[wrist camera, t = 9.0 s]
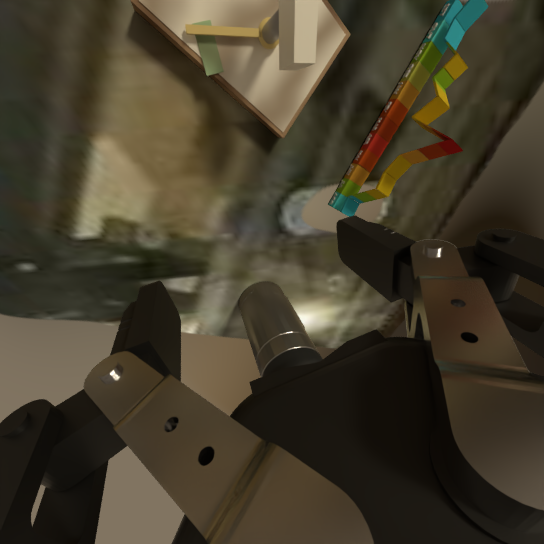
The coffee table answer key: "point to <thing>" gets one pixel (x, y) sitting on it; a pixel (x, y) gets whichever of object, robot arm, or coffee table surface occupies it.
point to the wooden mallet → (279, 32)
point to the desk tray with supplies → (247, 53)
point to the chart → (440, 37)
